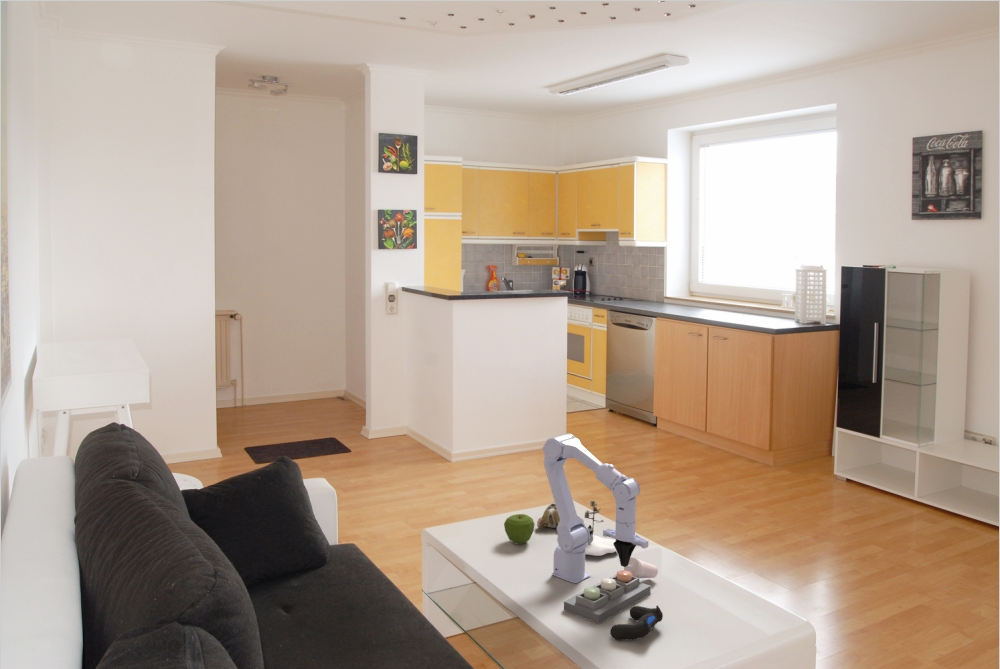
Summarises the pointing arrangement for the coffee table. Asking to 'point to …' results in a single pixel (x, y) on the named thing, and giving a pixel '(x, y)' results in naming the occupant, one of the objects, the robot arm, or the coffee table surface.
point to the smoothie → (641, 569)
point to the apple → (519, 528)
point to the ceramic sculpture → (549, 517)
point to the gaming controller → (637, 623)
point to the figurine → (597, 538)
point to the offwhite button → (608, 584)
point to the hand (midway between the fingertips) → (624, 565)
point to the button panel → (607, 600)
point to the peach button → (624, 576)
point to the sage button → (592, 593)
